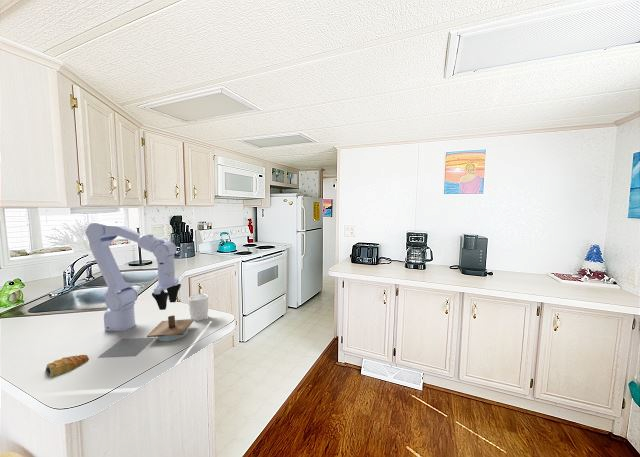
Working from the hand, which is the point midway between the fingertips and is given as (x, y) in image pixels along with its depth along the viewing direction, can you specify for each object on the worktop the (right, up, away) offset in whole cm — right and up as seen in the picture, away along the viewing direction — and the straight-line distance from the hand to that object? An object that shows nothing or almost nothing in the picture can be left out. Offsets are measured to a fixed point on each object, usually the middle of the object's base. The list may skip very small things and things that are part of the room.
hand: (167, 305), depth 103 cm
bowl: (+5, -10, -5) cm, 12 cm away
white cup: (+8, -9, +10) cm, 16 cm away
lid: (+5, -7, -5) cm, 10 cm away
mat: (-5, -11, -14) cm, 18 cm away
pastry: (-16, -12, -25) cm, 32 cm away
